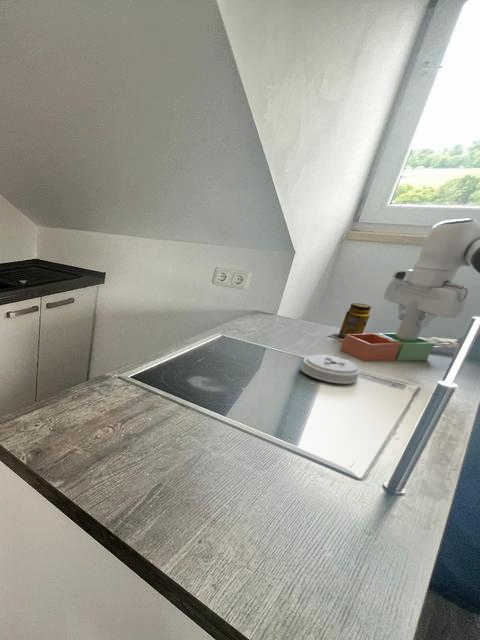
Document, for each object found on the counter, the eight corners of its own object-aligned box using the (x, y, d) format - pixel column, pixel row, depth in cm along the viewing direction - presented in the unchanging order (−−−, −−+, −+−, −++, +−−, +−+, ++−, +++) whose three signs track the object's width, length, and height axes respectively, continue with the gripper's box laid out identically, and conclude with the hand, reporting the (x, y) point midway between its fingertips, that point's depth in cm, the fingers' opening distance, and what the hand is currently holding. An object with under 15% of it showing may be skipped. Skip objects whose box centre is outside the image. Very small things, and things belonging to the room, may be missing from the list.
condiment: (367, 340, 134) (380, 306, 129) (347, 342, 132) (359, 308, 128) (345, 333, 141) (357, 301, 136) (326, 335, 139) (337, 303, 134)
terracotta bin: (368, 349, 127) (374, 333, 125) (394, 360, 119) (401, 343, 116) (339, 349, 127) (345, 333, 125) (363, 361, 119) (370, 344, 116)
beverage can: (410, 336, 122) (427, 299, 117) (420, 342, 118) (437, 304, 113) (391, 335, 123) (407, 298, 118) (400, 340, 119) (416, 302, 114)
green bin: (398, 348, 127) (405, 332, 125) (427, 360, 119) (435, 343, 116) (370, 349, 127) (377, 333, 125) (396, 360, 119) (404, 343, 116)
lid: (320, 364, 118) (325, 349, 116) (367, 382, 107) (374, 365, 105) (289, 370, 114) (294, 355, 112) (334, 389, 103) (341, 373, 101)
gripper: (482, 285, 103) (458, 334, 109) (408, 270, 122) (391, 312, 128) (458, 286, 103) (436, 334, 109) (388, 271, 122) (372, 313, 128)
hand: (411, 322), depth 118 cm, fingers closed on beverage can, 5 cm apart
